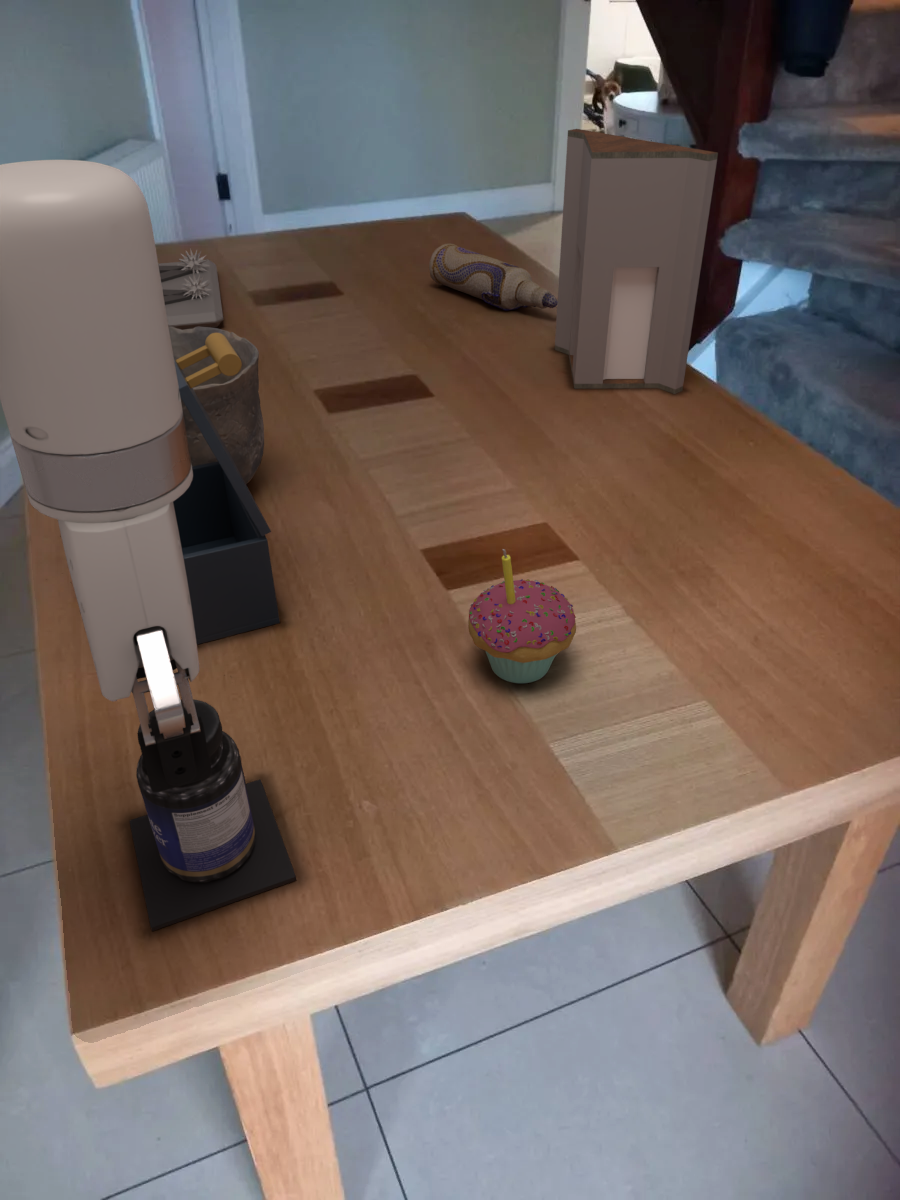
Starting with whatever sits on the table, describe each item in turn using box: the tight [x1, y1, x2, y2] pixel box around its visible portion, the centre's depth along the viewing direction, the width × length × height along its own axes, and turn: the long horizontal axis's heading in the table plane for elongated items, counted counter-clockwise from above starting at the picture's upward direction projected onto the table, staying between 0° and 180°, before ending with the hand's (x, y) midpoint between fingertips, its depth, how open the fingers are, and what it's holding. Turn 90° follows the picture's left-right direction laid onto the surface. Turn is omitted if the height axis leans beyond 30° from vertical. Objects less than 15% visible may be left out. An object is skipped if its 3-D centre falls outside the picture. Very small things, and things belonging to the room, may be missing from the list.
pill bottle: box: [135, 698, 255, 883], centre depth 57 cm, size 6×6×11 cm
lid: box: [173, 333, 272, 536], centre depth 75 cm, size 14×15×5 cm
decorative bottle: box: [428, 243, 558, 311], centre depth 144 cm, size 26×8×7 cm, turn 40°
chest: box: [173, 461, 281, 645], centre depth 81 cm, size 13×15×9 cm
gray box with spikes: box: [158, 247, 224, 330], centre depth 145 cm, size 30×22×7 cm
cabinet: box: [554, 128, 719, 395], centre depth 114 cm, size 21×10×28 cm, turn 42°
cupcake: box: [467, 548, 577, 684], centre depth 71 cm, size 9×8×12 cm
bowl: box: [169, 326, 265, 485], centre depth 94 cm, size 18×18×15 cm
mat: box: [128, 779, 297, 932], centre depth 60 cm, size 9×9×1 cm
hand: (166, 723), depth 53 cm, fingers open, 9 cm apart
